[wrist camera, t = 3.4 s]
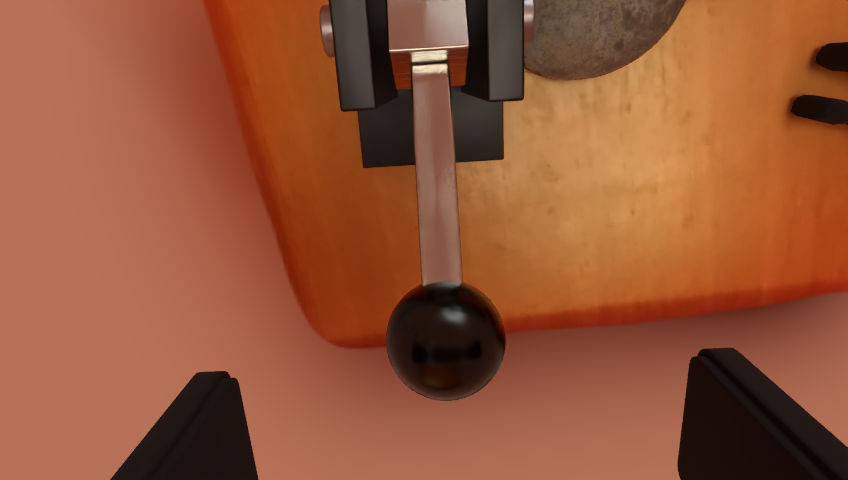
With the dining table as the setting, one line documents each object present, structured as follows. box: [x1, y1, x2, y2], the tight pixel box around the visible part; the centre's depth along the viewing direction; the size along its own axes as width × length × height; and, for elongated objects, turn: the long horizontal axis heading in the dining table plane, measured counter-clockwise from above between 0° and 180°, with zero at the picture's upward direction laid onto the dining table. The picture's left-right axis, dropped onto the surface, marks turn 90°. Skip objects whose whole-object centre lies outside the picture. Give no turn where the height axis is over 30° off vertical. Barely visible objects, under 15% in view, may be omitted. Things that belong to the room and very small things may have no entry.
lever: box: [385, 0, 506, 401], centre depth 14 cm, size 12×3×3 cm, turn 3°
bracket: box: [320, 0, 535, 168], centre depth 18 cm, size 11×7×12 cm, turn 4°
